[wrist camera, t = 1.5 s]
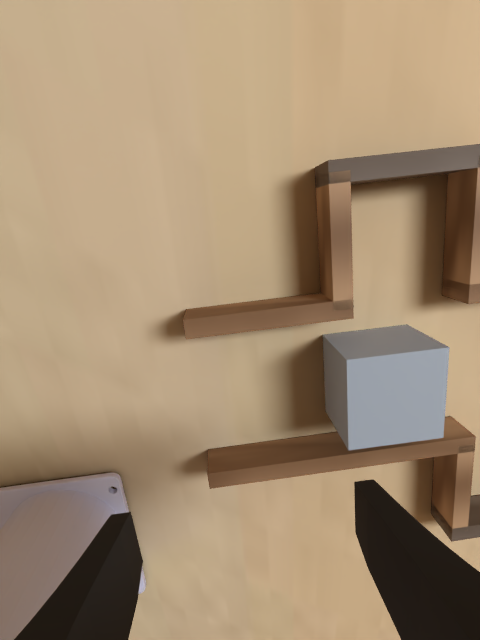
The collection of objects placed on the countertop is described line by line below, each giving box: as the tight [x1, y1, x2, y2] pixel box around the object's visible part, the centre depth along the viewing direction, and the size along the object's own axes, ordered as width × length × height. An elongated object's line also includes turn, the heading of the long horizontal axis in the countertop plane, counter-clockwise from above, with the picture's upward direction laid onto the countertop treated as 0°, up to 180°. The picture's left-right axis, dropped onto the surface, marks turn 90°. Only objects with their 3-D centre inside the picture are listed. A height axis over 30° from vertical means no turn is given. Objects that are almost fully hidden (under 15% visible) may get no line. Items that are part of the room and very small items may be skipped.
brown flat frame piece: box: [183, 144, 480, 541], centre depth 20 cm, size 23×26×2 cm
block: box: [323, 325, 449, 450], centre depth 19 cm, size 5×5×4 cm
